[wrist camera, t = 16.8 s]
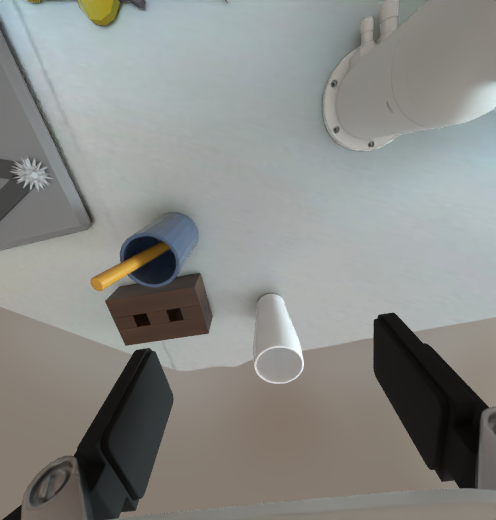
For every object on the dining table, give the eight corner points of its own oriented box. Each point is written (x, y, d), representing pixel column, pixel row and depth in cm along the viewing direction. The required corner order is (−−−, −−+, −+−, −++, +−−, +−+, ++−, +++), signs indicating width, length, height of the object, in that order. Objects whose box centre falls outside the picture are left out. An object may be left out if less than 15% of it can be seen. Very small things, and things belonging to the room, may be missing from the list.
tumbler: (148, 216, 41) (110, 238, 30) (191, 208, 41) (169, 227, 29) (162, 257, 44) (132, 291, 33) (202, 250, 43) (186, 282, 32)
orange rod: (178, 230, 41) (88, 277, 27) (186, 230, 41) (98, 277, 26) (180, 240, 42) (93, 291, 27) (188, 239, 41) (104, 291, 27)
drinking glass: (247, 313, 48) (246, 376, 34) (260, 283, 46) (265, 339, 32) (279, 324, 49) (291, 390, 35) (294, 295, 46) (313, 354, 33)
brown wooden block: (119, 286, 46) (104, 301, 41) (200, 273, 45) (194, 286, 40) (137, 328, 50) (125, 345, 45) (212, 316, 48) (208, 333, 44)
